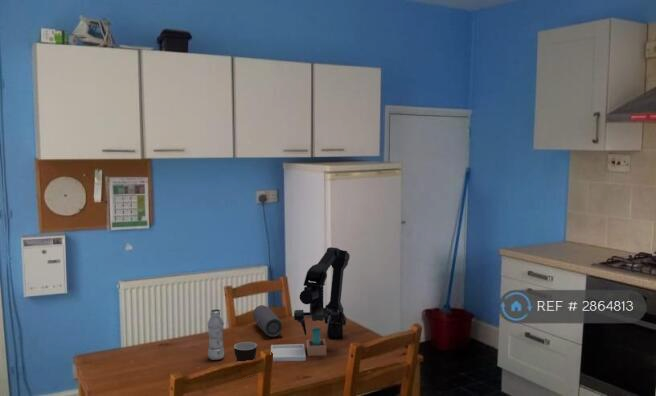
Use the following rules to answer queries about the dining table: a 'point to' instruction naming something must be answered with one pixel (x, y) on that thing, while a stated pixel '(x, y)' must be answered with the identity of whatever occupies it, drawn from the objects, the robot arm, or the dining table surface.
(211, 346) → the plastic bottle
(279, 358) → the grey tray
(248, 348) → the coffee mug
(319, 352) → the pin cup
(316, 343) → the dowel pin
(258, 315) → the bluetooth speaker
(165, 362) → the dining table surface
